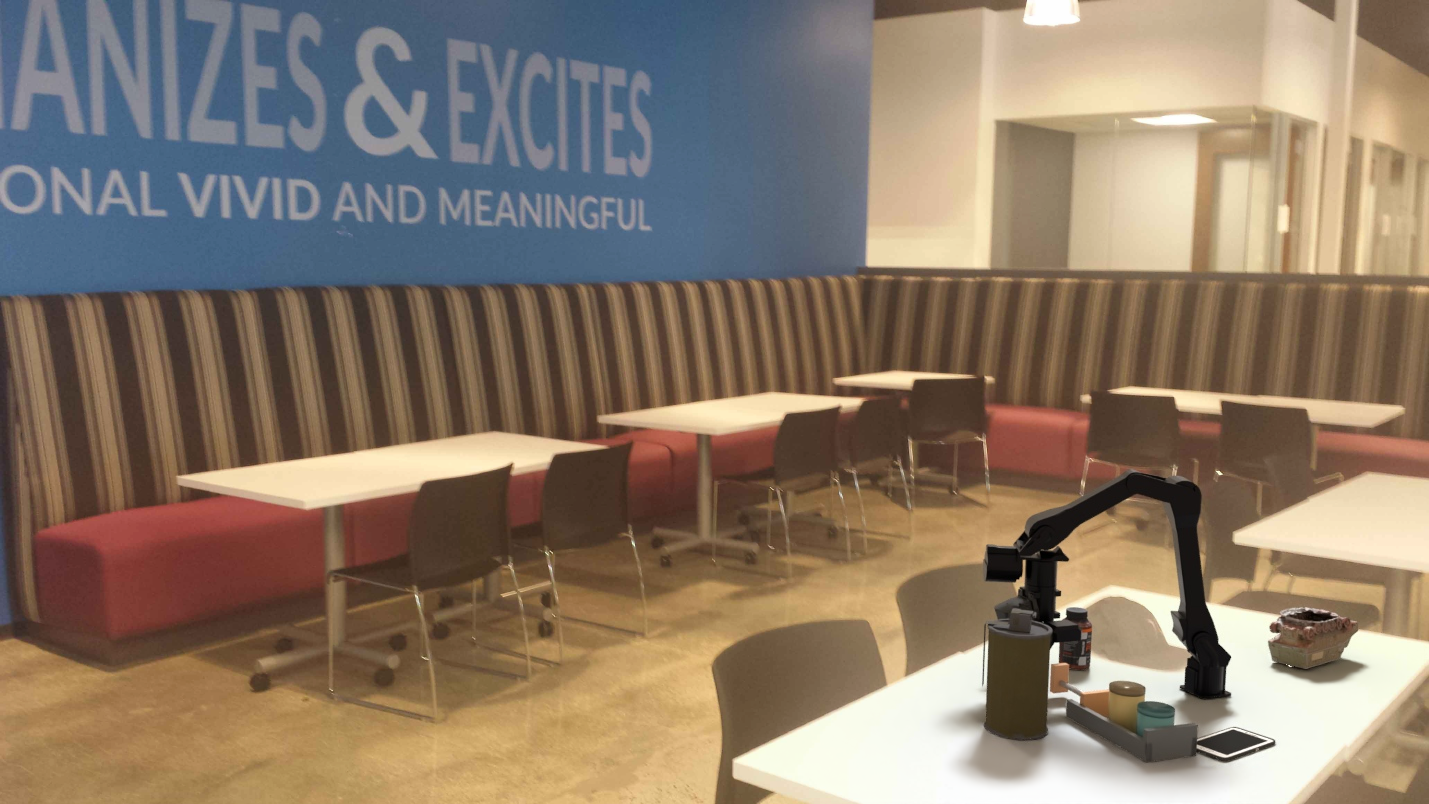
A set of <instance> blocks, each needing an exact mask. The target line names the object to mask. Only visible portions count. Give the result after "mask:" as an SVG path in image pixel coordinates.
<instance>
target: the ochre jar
mask: <svg viewBox="0 0 1429 804" xmlns="http://www.w3.org/2000/svg"><path fill="white" fill-rule="evenodd" d="M1108 689H1109V705H1108V717H1107V719H1109V720H1111V721H1113V722H1115V723H1116V724H1118V725H1120V726H1122V727H1124V728H1126V729H1127V730H1129V731H1131V732H1133V733H1135V734H1136V727H1137V704H1138V703H1140V702H1144V701H1146V690H1147V688H1146V687H1145V685H1143V684H1142V683H1138V682H1135V681H1129V680H1114V681H1113V680H1112V681H1111V682H1109V683H1108Z"/></svg>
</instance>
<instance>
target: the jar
mask: <svg viewBox="0 0 1429 804" xmlns="http://www.w3.org/2000/svg"><path fill="white" fill-rule="evenodd" d="M1175 716H1176V708H1175V707H1174V706H1172V705H1171V704H1168V703H1165V702H1161V701H1155V700H1154V701H1153V700H1152V701H1151V700H1145V701H1144V702H1140V703H1138V704H1137V727H1136V734H1137V735H1138V736H1140V737H1142V738H1143V729H1148V728H1156V727H1164V726H1172V725H1175Z"/></svg>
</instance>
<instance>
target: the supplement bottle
mask: <svg viewBox="0 0 1429 804" xmlns="http://www.w3.org/2000/svg"><path fill="white" fill-rule="evenodd" d="M1065 616H1066V617H1064V618H1062V619H1061V620H1068V621H1071V622H1073V623H1075V624H1077V625H1079V626H1080V628H1081V629H1082V640H1081V641H1070V642H1060V643H1058V644H1059V646H1058V663H1067V664H1069V670H1071V671H1086V670H1087V669H1089V668H1090V667H1091V662H1092V661H1091V660H1092V659H1091V657H1092V635H1093V624H1092V622H1091V621H1090V620H1089V619H1088V616H1089V614H1088V610H1087V609H1086V608H1083V607H1079V606H1078V607H1077V606H1075V607H1072V606H1071V607H1070V606H1069V607H1067V608H1066V609H1065Z"/></svg>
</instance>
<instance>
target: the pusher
mask: <svg viewBox="0 0 1429 804" xmlns="http://www.w3.org/2000/svg"><path fill="white" fill-rule="evenodd" d="M1069 677H1070V669H1069V664H1067V663H1059V662H1058V663H1051V664H1050V675H1049V679H1050V680H1049V692H1050V693H1052V694H1060V693H1062V694H1063V693H1068V692H1069V691H1070V692H1072V693H1074V694H1076V695H1078V696H1079V703H1080V704H1082V705H1083V706H1085V707H1087V708H1089V709H1091V710H1093V711H1094V712H1096V713H1098V714H1100V715H1102V716H1104V717H1105V718H1108V705H1109V688H1108V689H1100V690H1091V691H1084V690H1081V689H1079V688H1078V687H1077V686H1074V685H1072V684H1070V683H1069Z"/></svg>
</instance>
